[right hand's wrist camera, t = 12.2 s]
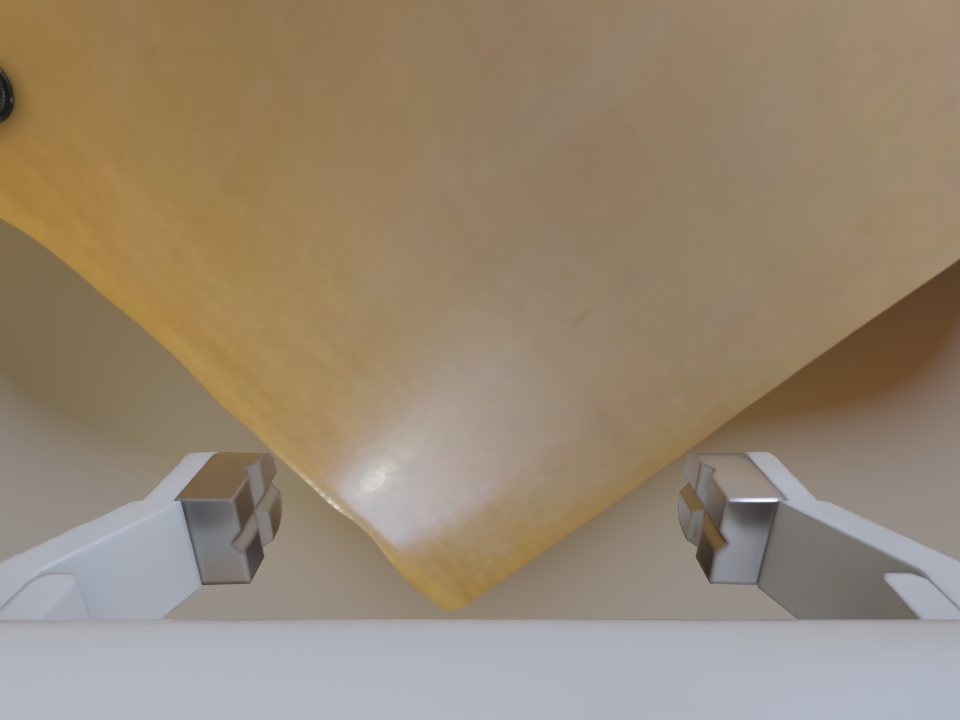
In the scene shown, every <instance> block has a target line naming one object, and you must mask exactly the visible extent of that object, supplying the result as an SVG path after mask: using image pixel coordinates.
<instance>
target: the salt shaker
mask: <svg viewBox="0 0 960 720" xmlns="http://www.w3.org/2000/svg"><path fill="white" fill-rule="evenodd" d="M12 106H13V94H12V89H11V86H10V84H9V82H8V79H7V77H6V76H5V75H4V73H3V72H2V70H1V69H0V122H1V121H3V120H4V119H6V118H7V116H8V115H9V114H10V112H11V109H12Z"/></svg>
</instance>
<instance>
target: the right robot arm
mask: <svg viewBox="0 0 960 720" xmlns="http://www.w3.org/2000/svg"><path fill="white" fill-rule="evenodd" d="M276 473H277V470H276V466H275V461H274V458H273V456H272V455H271V454H270V453H238V452H219V453H218V452H193V453H189V454H187V455H186V456H185V457H184V458H183V459H182V460H181V462H180V463H179V464H178V465H177V466H176V467H175V468H174V469H173V470H172V471H171V472H170V473H169V474H168V475H167V476H166V477H165V478H164V479H163V480H162V481H161V482H160V483H159V484H158V486H156V487H155V488H154V489H153V491H152V492H151V493H150V494H149V495H148V496H147V497H146V498H145V499H144V500H143V501H132V502H130V503H128V504H126V505H124V506H121V507H119V508H117V509H115V510H113V511H110V512H108V513H106V514H104V515H102V516H99V517H97V518H95V519H93V520H91V521H88V522H86V523H84V524H82V525H80V526H77V527H75V528H73V529H71V530H69V531H66V532H64V533H62V534H60V535H58V536H55V537H53V538H51V539H49V540H47V541H45V542H42V543H40V544H38V545H36V546H34V547H31V548H29V549H27V550H25V551H23V552H20V553H18V554H16V555H14V556H12V557H9V558H7V559H5V560H3V561H1V562H0V720H960V562H959V561H957V560H955V559H952V558H950V557H948V556H946V555H944V554H942V553H939V552H937V551H935V550H933V549H931V548H928V547H926V546H924V545H922V544H920V543H917V542H915V541H913V540H911V539H909V538H906V537H904V536H902V535H900V534H898V533H895V532H893V531H891V530H889V529H887V528H885V527H882V526H880V525H878V524H876V523H873V522H871V521H869V520H867V519H865V518H863V517H860V516H858V515H856V514H854V513H852V512H849V511H847V510H845V509H843V508H841V507H839V506H836V505H834V504H832V503H830V502H828V501H817V500H816V499H815V498H814V497H813V496H812V495H811V494H810V493H809V492H808V490H807V489H806V488H805V487H804V486H803V485H802V484H801V483H800V482H799V481H798V480H797V479H796V478H795V477H794V476H793V475H792V474H791V473H790V472H789V471H788V470H787V469H786V468H785V467H784V466H783V465H782V463H781V462H780V461H779V460H778V459H777V458H776V457H775V456H774V455H773V454H771V453H768V452H742V453H705V454H688V456H687V458H686V461H685V465H684V470H683V473H684V475H685V476H686V478H687V480H688V481H689V483H688V484H687V485H686V486H685V487H684V488H683V489H682V490H681V491H680V494H679V502H678V513H679V522H680V525H681V528H682V531H683V533H684V535H685V537H686V539H687V540H688V541H689V542H691V543H692V544H694V545H695V546H697V553H696V558H697V560H698V562H699V564H700V566H701V568H702V569H703V571H704V573H705V575H706V577H707V579H708V581H709V582H710V584H742V585H758V588H759V589H761V590H762V591H763V592H764V593H766V594H767V595H768V596H769V597H771V598H772V599H773V600H774V601H776V602H777V603H778V604H779V605H781V606H782V607H783V608H784V609H786V610H787V611H788V612H789V613H791V614H792V615H793V616H794V617H796V618H797V619H483V620H482V619H459V620H457V619H455V620H454V619H435V620H434V619H430V620H428V619H422V620H421V619H419V620H418V619H416V620H415V619H411V620H409V619H407V620H406V619H405V620H404V619H401V620H399V619H397V620H396V619H395V620H393V619H389V620H388V619H385V620H384V619H375V620H374V619H163V618H164V617H166V616H167V615H168V614H169V613H171V612H172V611H173V610H175V609H176V608H177V607H178V606H179V605H181V604H182V603H183V602H185V601H186V600H187V599H188V598H190V597H191V596H192V595H193V594H195V593H196V592H197V591H198V590H200V589H201V588H202V585H217V584H250V583H251V581H252V579H253V577H254V575H255V573H256V571H257V569H258V568H259V566H260V564H261V562H262V560H263V558H264V553H263V546H265V545H266V544H268V543H269V542H271V541H272V540H273V539H274V537H275V535H276V533H277V531H278V529H279V525H280V520H281V516H282V500H281V494H280V491H279V490H278V489H277V488H276V487H275V486H274V485H273V484H272V483H271V481H272V480H273V478H274V476H275V475H276Z"/></svg>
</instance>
